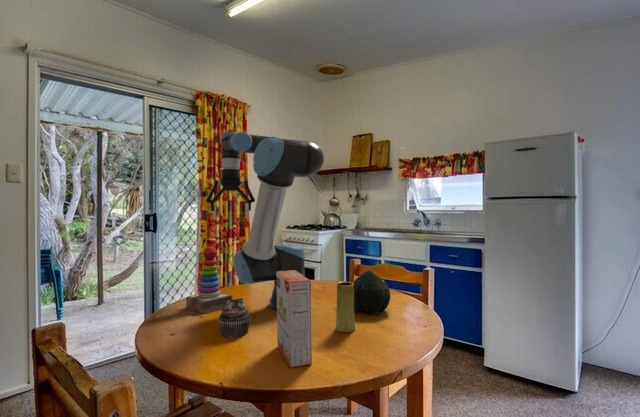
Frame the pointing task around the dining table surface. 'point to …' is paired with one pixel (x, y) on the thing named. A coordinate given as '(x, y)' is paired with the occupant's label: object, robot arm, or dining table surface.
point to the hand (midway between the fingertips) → (231, 218)
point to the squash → (370, 293)
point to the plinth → (207, 303)
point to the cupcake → (234, 319)
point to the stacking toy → (209, 275)
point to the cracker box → (294, 317)
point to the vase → (345, 307)
